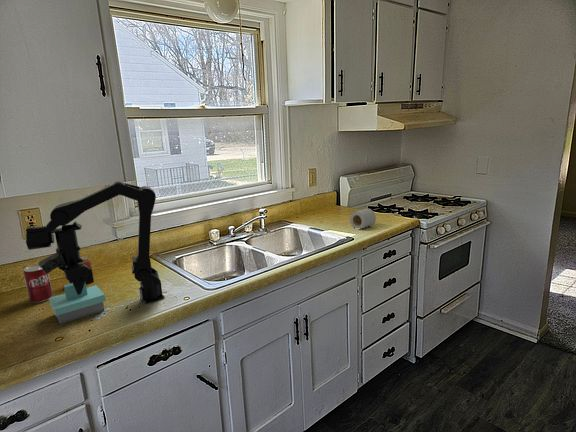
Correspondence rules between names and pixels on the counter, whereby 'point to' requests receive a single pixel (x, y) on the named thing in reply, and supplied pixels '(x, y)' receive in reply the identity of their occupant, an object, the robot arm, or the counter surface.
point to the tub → (80, 313)
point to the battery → (88, 264)
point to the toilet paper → (362, 218)
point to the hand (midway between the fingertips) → (76, 289)
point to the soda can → (37, 284)
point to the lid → (76, 299)
